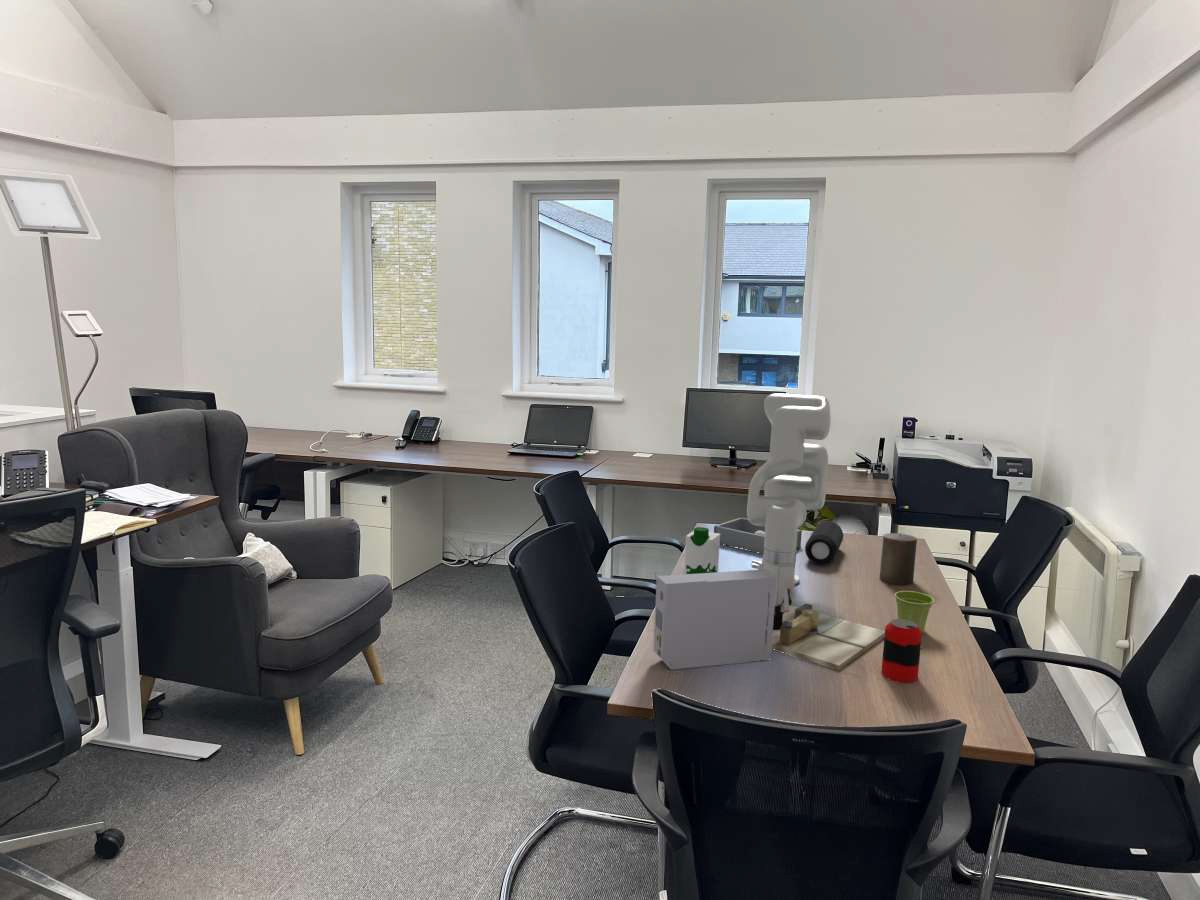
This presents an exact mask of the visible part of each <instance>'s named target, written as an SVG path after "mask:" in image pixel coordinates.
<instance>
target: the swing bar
mask: <svg viewBox="0 0 1200 900" xmlns="http://www.w3.org/2000/svg"><path fill="white" fill-rule="evenodd" d="M819 613H820V612H819V611H817V610H814V609H812V610H811V609H805V610H802V615H800V616H798V617H797V618H795V619H793V620H791V621H783V625H782V626H781V627H780V641H779V642H781V643H785V644H788V645H789V644H791V643H793V642H794V641H796V640H797V639H799V638H801V637H802V636H804V635H806V634H807V633H809V632H813V631H817V630H818V617H819Z"/></svg>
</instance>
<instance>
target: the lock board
mask: <svg viewBox="0 0 1200 900" xmlns="http://www.w3.org/2000/svg"><path fill="white" fill-rule="evenodd" d="M805 609H811V610H813V604H810V603H804V604H802V605H800V606H796V605H795V606H794V605H789V612H784V614H783V620H782V625H783V621H791V620H793V619H795V618H797V617H798V616H800V615H802V610H805ZM884 636H885V630H882V629H879V628H875V627H871V626H868V625H864V624H861V623H857V622H853V621H849V620H845V619H843V618H838V617H835V616H831V615H827V614H825V613H822V612H821V613H820V612H819V617H818V630H817V631H813V632H809V633H807V634H806V635H804V636H802V637H801V638H799V639H797V640H796V641H794V642H793V643H791V644H789V645H788V644H785V643H781V642H779V641H780V630H773V634H772V649H775V650H778V651H781V652H784V653H787V654H790V655H789V656H791V655H793V656H792V657H794V656H795V657H794V658H797V657H798V658H797V659H800V658H801V660H803V659H805V660H804V661H807V660H808V662H810V661H811V662H810V663H813V662H814V664H816V663H817V665H821V666H822V667H823V666H824V667H826V668H829V669H832V670H835V671H840V670H842V668H844V667H845V666H847V665H848V664H850V663H851V662H852V661H854V660H855V659H856V658H858V657H859V656H861V655H862V654H863V653H865V652H866V651H867V650H869V649H870V648H872V647H873V646H874V645H876V644H877V643H879V642H880V641H881V640H884ZM871 646H872V647H871ZM775 650H774V651H775ZM778 651H777V652H778ZM781 652H780V653H781ZM784 653H783V654H784ZM787 654H786V655H787ZM860 654H861V655H860ZM853 659H854V660H853Z"/></svg>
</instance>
